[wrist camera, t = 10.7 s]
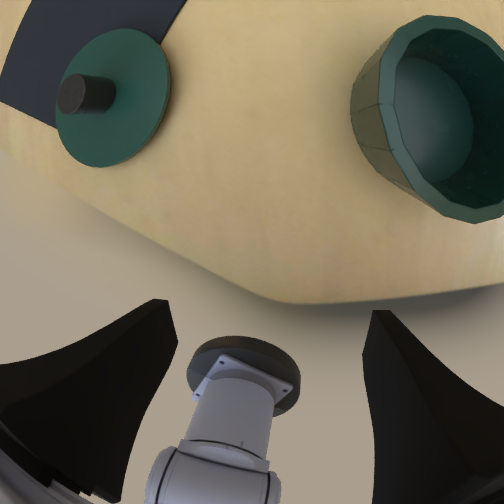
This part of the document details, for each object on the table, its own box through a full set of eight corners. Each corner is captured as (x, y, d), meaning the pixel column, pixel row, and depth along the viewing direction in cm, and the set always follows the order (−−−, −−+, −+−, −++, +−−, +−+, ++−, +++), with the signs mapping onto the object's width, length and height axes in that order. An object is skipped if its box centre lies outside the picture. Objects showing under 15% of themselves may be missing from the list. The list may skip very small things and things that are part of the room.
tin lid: (139, 187, 18) (102, 203, 14) (52, 140, 17) (14, 147, 13) (202, 49, 14) (173, 28, 10) (95, 25, 13) (58, 13, 9)
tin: (437, 219, 16) (487, 259, 10) (322, 136, 15) (335, 136, 9) (493, 113, 12) (552, 115, 6) (387, 23, 11) (423, -19, 5)
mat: (112, 155, 18) (110, 156, 17) (-5, 98, 16) (-6, 98, 16) (212, -34, 11) (210, -36, 11) (51, -29, 10) (49, -30, 9)
